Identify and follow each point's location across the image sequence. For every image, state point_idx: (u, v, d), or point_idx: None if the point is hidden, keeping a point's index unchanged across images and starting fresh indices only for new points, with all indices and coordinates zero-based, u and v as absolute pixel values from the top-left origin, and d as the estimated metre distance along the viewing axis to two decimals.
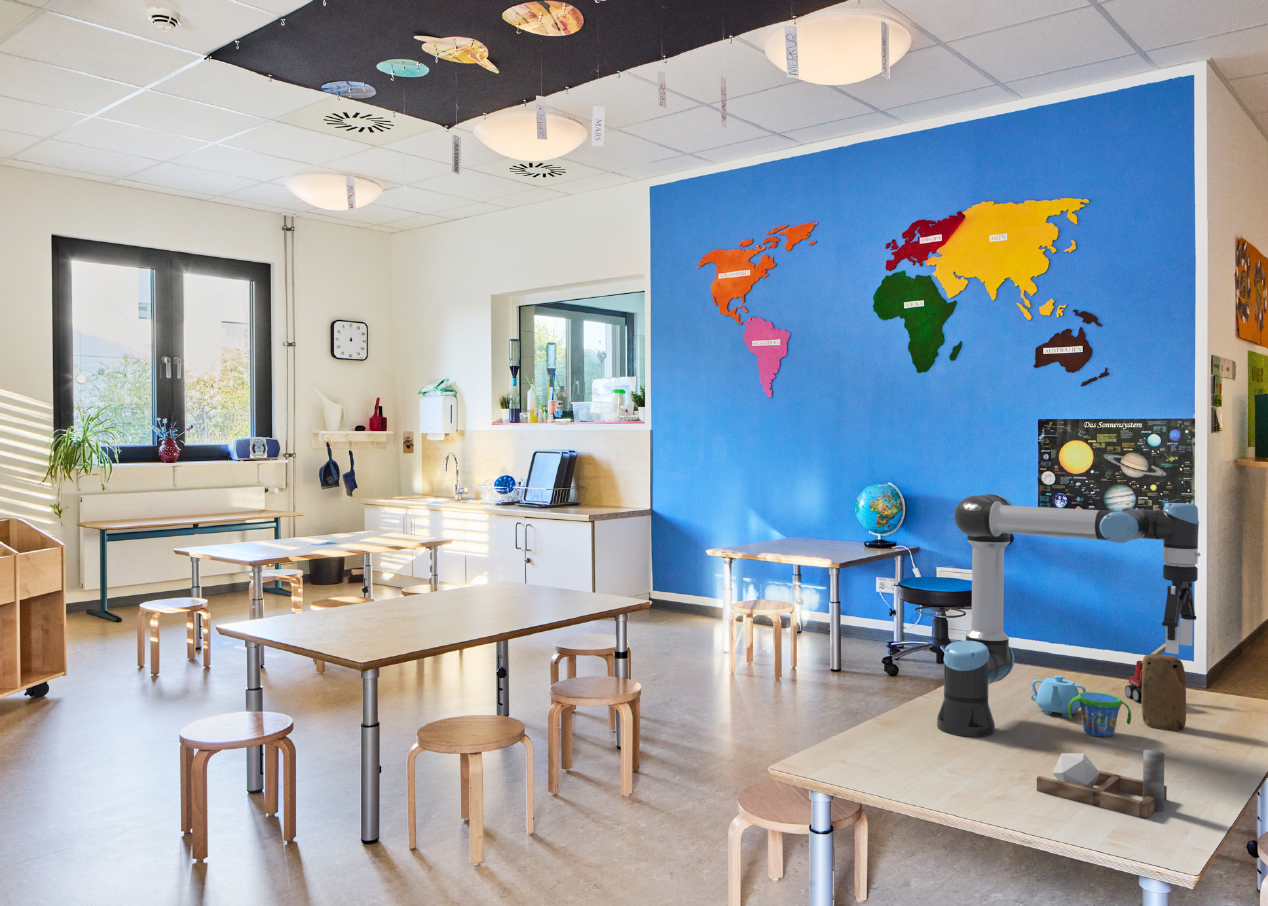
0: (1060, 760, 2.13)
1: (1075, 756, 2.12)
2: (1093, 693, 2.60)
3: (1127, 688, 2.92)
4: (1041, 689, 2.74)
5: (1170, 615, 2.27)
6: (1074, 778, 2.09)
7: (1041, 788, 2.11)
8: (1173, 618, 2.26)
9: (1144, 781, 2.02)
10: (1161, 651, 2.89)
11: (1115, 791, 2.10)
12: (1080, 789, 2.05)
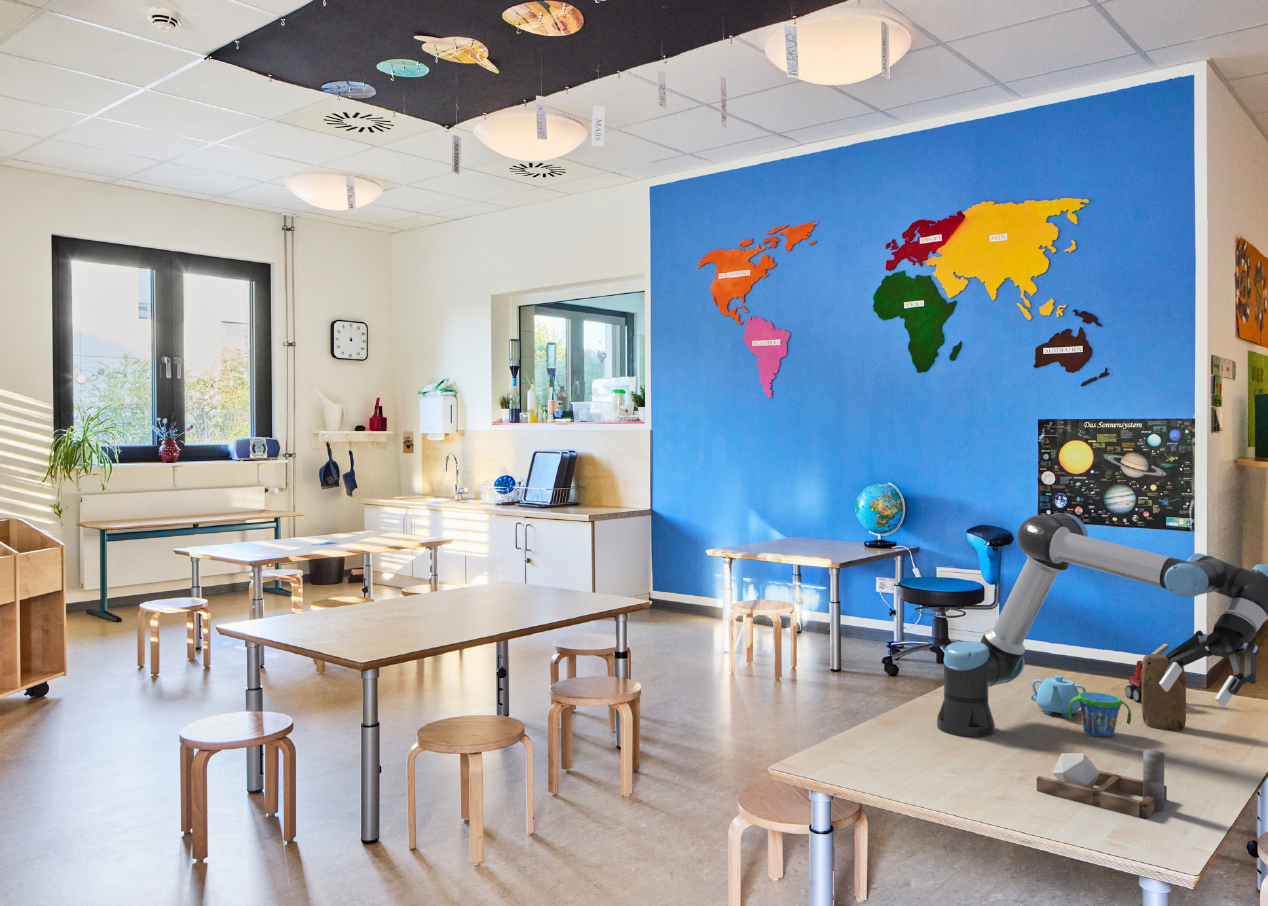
0: (1060, 760, 2.13)
1: (1075, 756, 2.12)
2: (1093, 693, 2.60)
3: (1127, 688, 2.92)
4: (1041, 689, 2.74)
5: (1253, 672, 1.99)
6: (1074, 778, 2.09)
7: (1041, 788, 2.11)
8: (1255, 676, 1.99)
9: (1144, 781, 2.02)
10: (1161, 651, 2.89)
11: (1115, 791, 2.10)
12: (1080, 789, 2.05)
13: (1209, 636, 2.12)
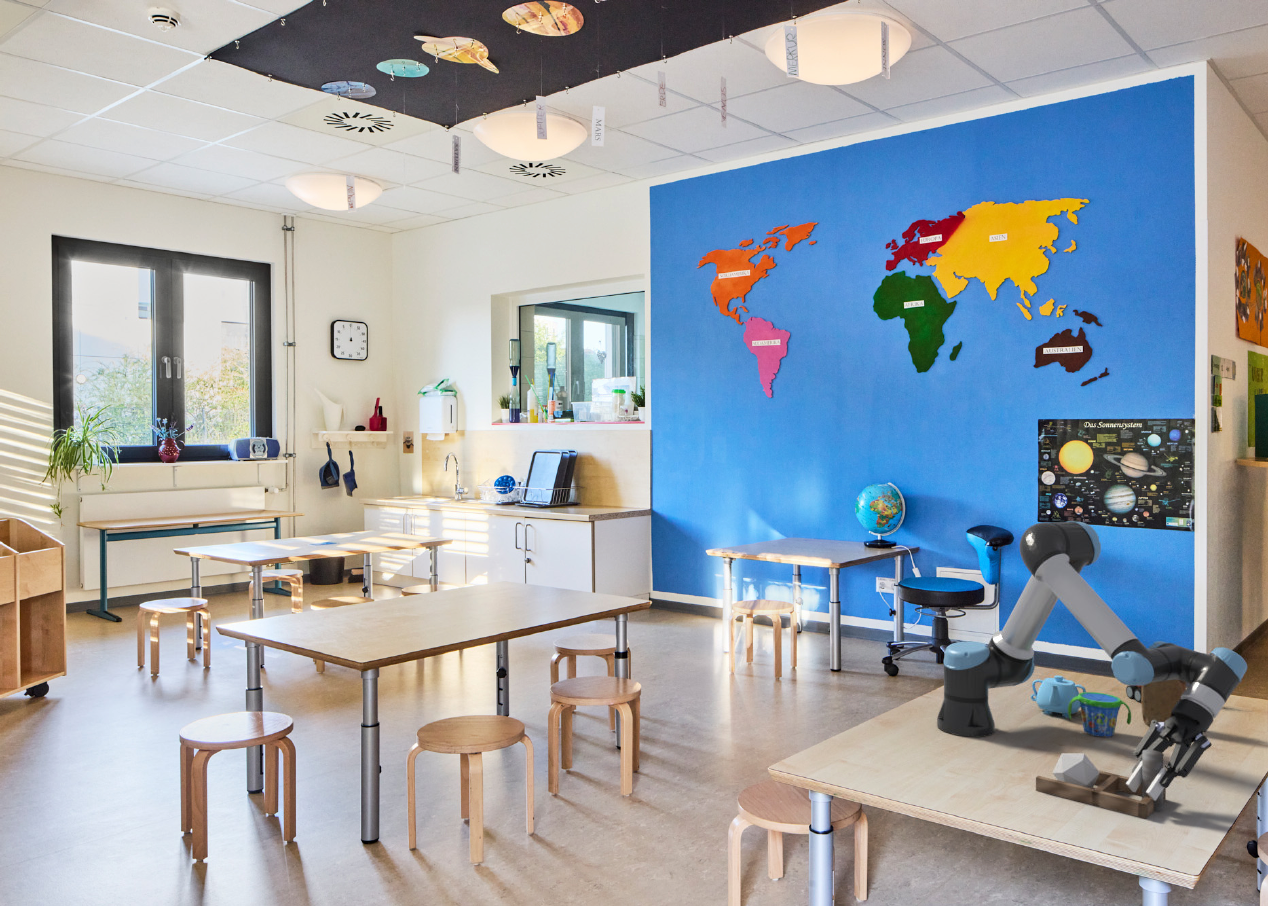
0: (1060, 760, 2.13)
1: (1075, 756, 2.12)
2: (1093, 693, 2.60)
3: (1129, 688, 2.92)
4: (1041, 689, 2.74)
5: (1188, 767, 1.97)
6: (1074, 778, 2.09)
7: (1040, 788, 2.11)
8: (1188, 771, 1.97)
9: (1143, 781, 2.02)
10: None
11: (1114, 791, 2.10)
12: (1079, 789, 2.05)
13: (1166, 722, 2.07)
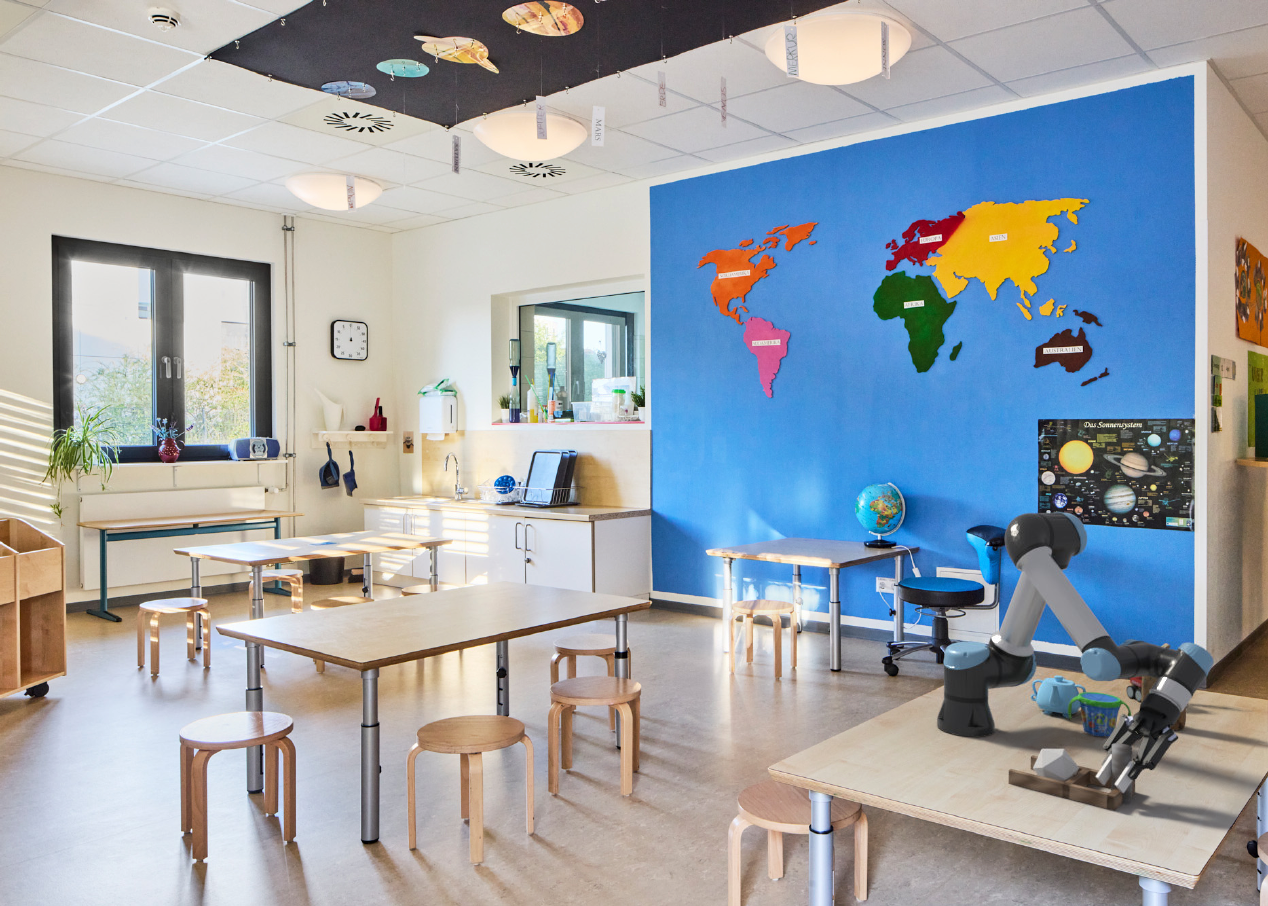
0: (1040, 755, 2.16)
1: (1055, 751, 2.15)
2: (1092, 693, 2.60)
3: (1129, 688, 2.92)
4: (1041, 689, 2.74)
5: (1155, 759, 2.02)
6: (1054, 772, 2.12)
7: (1013, 781, 2.15)
8: (1155, 764, 2.02)
9: (1112, 774, 2.06)
10: None
11: (1085, 784, 2.14)
12: (1050, 782, 2.09)
13: (1135, 716, 2.12)
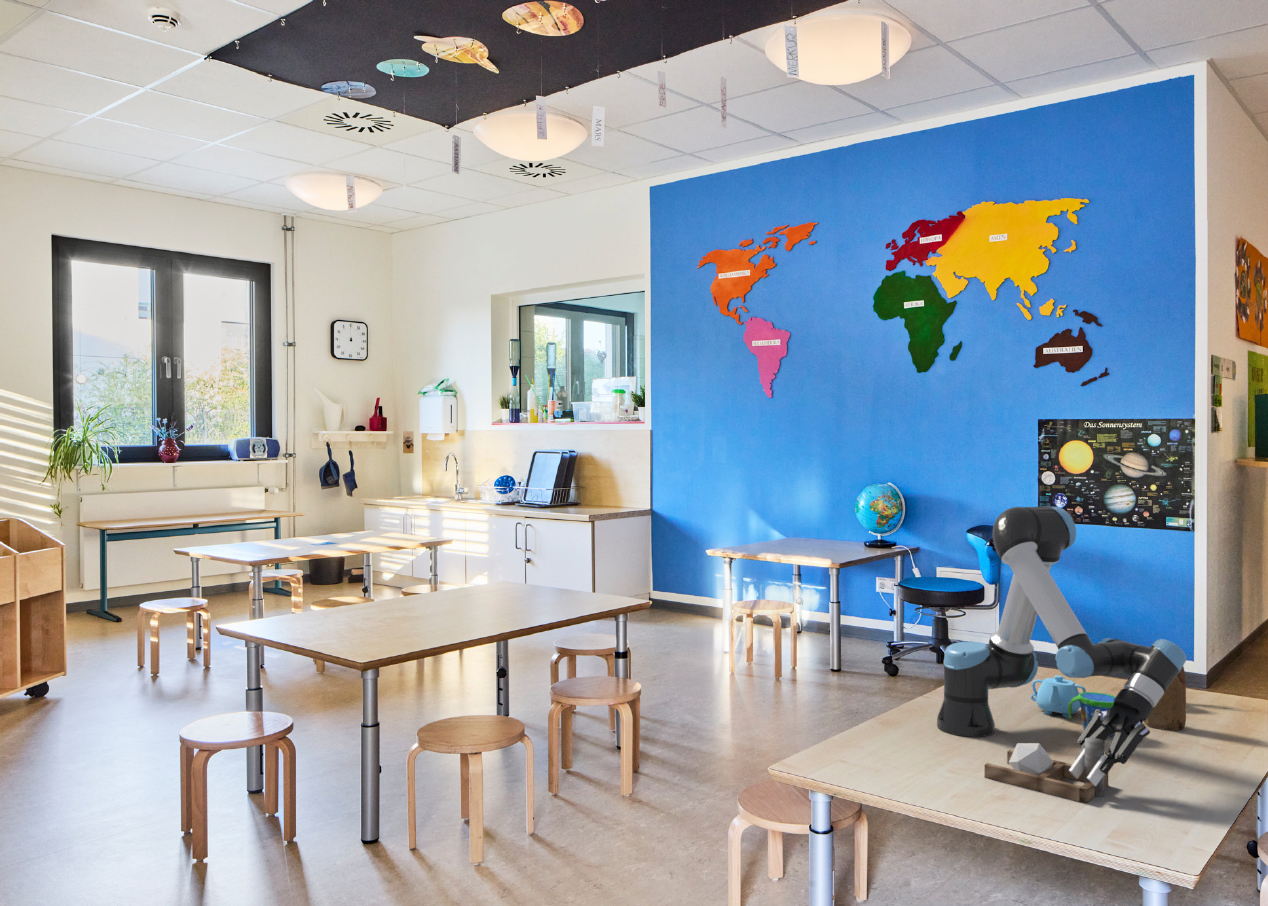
0: (1016, 750, 2.20)
1: (1030, 746, 2.19)
2: (1092, 693, 2.60)
3: None
4: (1041, 689, 2.74)
5: (1127, 753, 2.05)
6: (1028, 766, 2.16)
7: (988, 775, 2.19)
8: (1127, 758, 2.05)
9: (1085, 767, 2.10)
10: None
11: (1059, 777, 2.18)
12: (1025, 775, 2.13)
13: (1109, 711, 2.16)
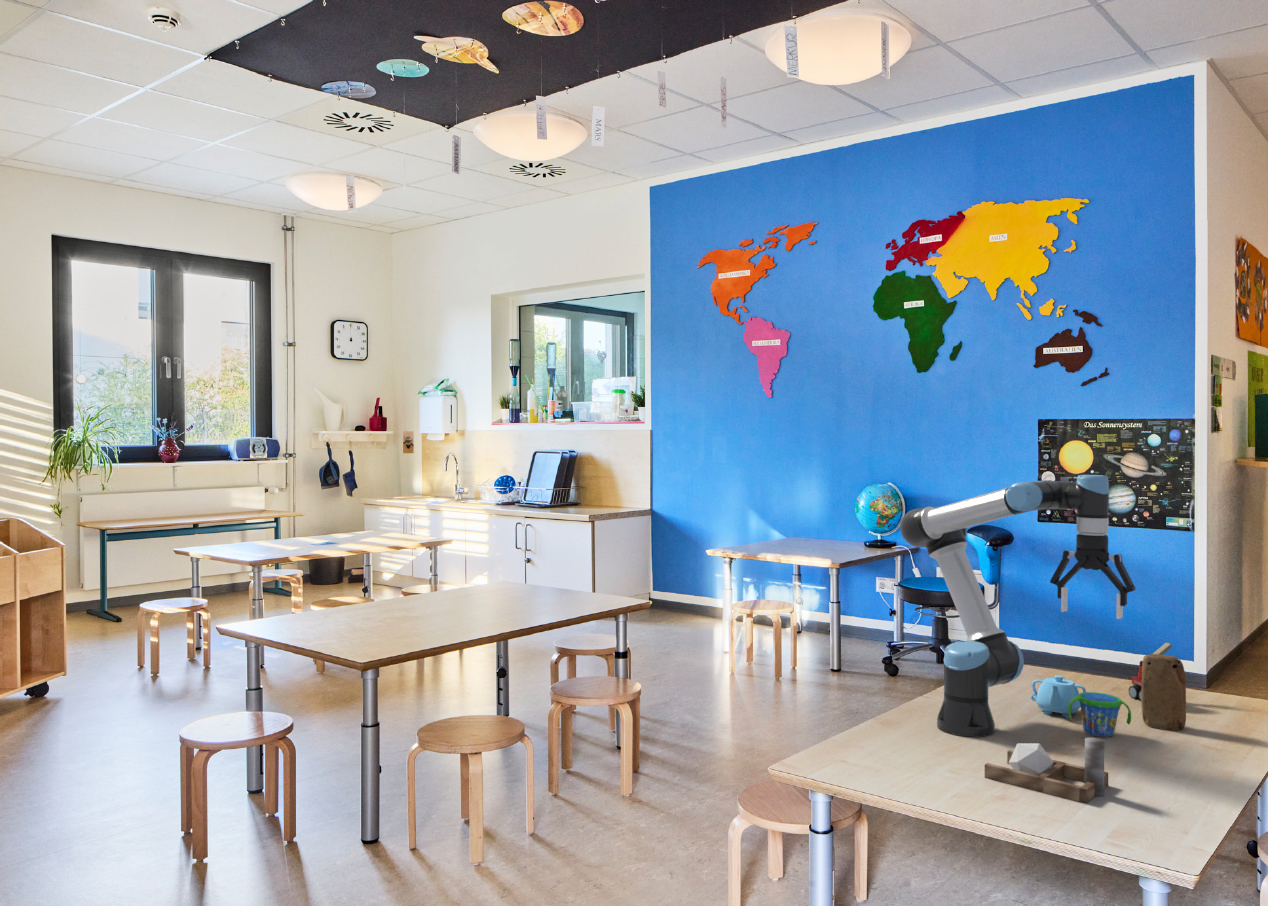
0: (1016, 750, 2.20)
1: (1030, 746, 2.19)
2: (1092, 693, 2.60)
3: (1132, 688, 2.92)
4: (1041, 689, 2.74)
5: (1130, 581, 2.37)
6: (1028, 767, 2.16)
7: (989, 775, 2.19)
8: (1132, 584, 2.37)
9: (1085, 767, 2.10)
10: (1165, 650, 2.89)
11: (1060, 778, 2.18)
12: (1025, 775, 2.13)
13: (1076, 555, 2.45)
